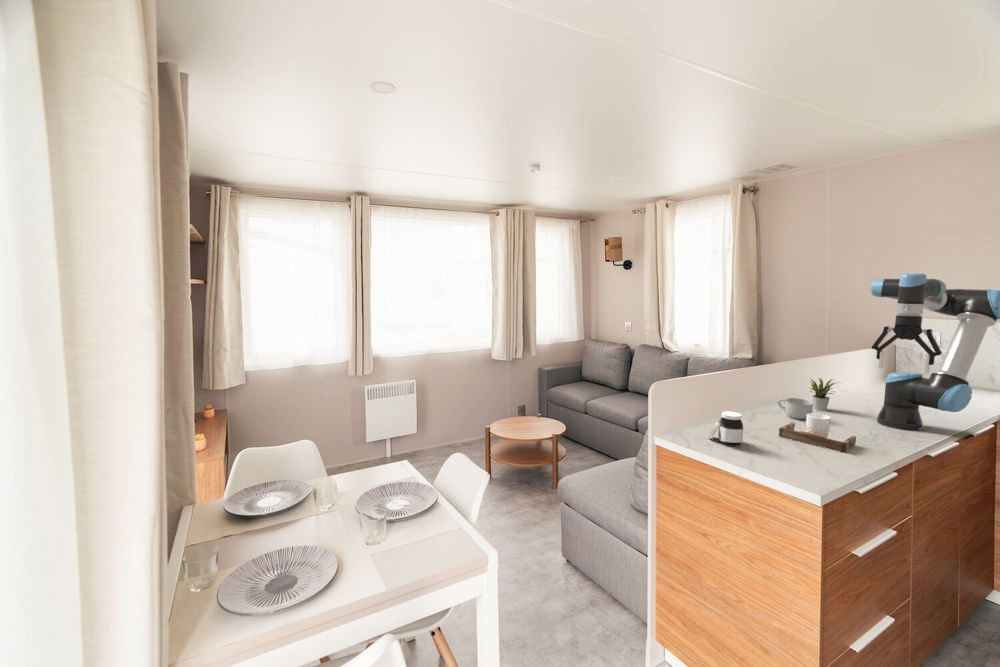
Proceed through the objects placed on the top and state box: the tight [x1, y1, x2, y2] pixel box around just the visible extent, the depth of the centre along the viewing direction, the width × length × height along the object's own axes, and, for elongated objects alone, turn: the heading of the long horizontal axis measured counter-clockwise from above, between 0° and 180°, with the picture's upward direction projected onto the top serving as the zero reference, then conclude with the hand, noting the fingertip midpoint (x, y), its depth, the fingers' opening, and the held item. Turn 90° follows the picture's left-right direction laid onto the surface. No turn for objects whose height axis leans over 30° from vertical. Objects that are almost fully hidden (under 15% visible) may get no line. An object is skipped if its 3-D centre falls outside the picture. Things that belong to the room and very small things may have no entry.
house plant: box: [809, 377, 842, 412], centre depth 227 cm, size 14×14×16 cm
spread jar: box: [707, 410, 744, 447], centre depth 183 cm, size 12×11×12 cm
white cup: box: [805, 412, 831, 438], centre depth 185 cm, size 8×8×10 cm
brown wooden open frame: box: [778, 421, 857, 454], centre depth 185 cm, size 12×22×4 cm, turn 38°
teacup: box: [777, 397, 814, 420], centre depth 216 cm, size 14×11×8 cm
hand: (903, 370), depth 179 cm, fingers open, 13 cm apart
